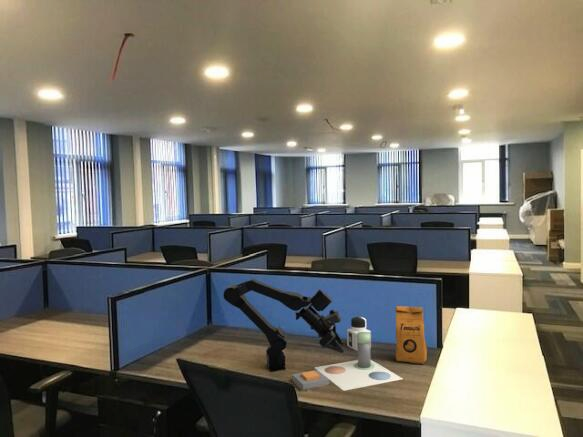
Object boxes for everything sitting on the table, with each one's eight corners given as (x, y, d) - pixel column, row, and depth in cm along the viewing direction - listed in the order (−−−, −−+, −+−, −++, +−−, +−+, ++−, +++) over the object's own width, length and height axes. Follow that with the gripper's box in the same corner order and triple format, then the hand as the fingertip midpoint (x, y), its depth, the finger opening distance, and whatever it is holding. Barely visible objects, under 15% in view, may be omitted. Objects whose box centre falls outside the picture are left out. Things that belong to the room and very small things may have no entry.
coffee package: (425, 366, 184) (425, 310, 183) (393, 363, 188) (392, 308, 187) (428, 358, 193) (428, 304, 192) (397, 355, 198) (397, 302, 197)
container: (356, 351, 204) (355, 321, 203) (347, 345, 211) (346, 317, 211) (371, 348, 207) (371, 318, 207) (361, 343, 214) (361, 314, 214)
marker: (365, 369, 180) (365, 336, 179) (354, 366, 184) (354, 334, 183) (373, 365, 184) (373, 333, 183) (362, 362, 187) (362, 331, 187)
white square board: (343, 392, 161) (343, 390, 161) (314, 369, 184) (314, 367, 184) (403, 381, 170) (403, 378, 170) (368, 360, 192) (368, 357, 192)
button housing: (303, 391, 163) (302, 384, 163) (292, 381, 173) (292, 374, 173) (329, 386, 167) (329, 379, 167) (317, 376, 176) (317, 370, 176)
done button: (306, 383, 167) (306, 377, 166) (301, 378, 171) (301, 372, 171) (319, 381, 168) (319, 375, 168) (313, 376, 173) (313, 370, 173)
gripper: (328, 311, 174) (358, 341, 173) (329, 299, 192) (356, 327, 192) (306, 332, 175) (337, 362, 175) (309, 318, 194) (337, 345, 193)
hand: (342, 348), depth 184 cm, fingers open, 9 cm apart
